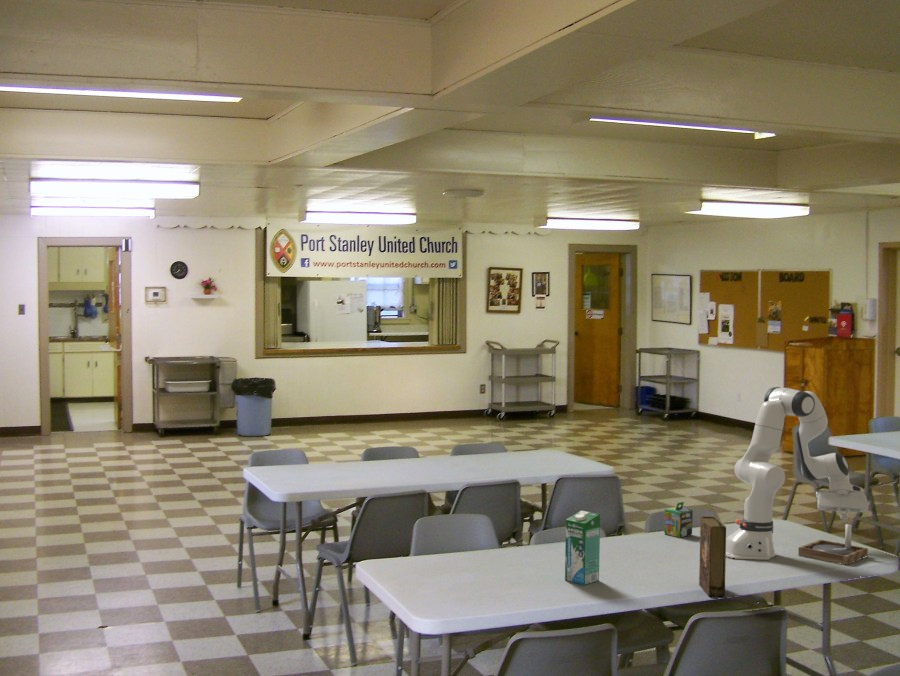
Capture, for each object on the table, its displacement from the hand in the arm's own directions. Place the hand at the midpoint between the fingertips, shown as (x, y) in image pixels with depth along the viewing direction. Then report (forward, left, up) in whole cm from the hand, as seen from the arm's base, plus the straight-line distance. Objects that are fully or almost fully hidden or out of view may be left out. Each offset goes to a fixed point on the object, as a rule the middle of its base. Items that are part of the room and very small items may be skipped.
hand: (844, 518), depth 414 cm
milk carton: (-123, -34, -13) cm, 128 cm away
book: (-80, -51, -13) cm, 96 cm away
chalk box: (-60, +33, -14) cm, 70 cm away
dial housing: (-10, -9, -13) cm, 19 cm away
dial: (-10, -9, -12) cm, 18 cm away
